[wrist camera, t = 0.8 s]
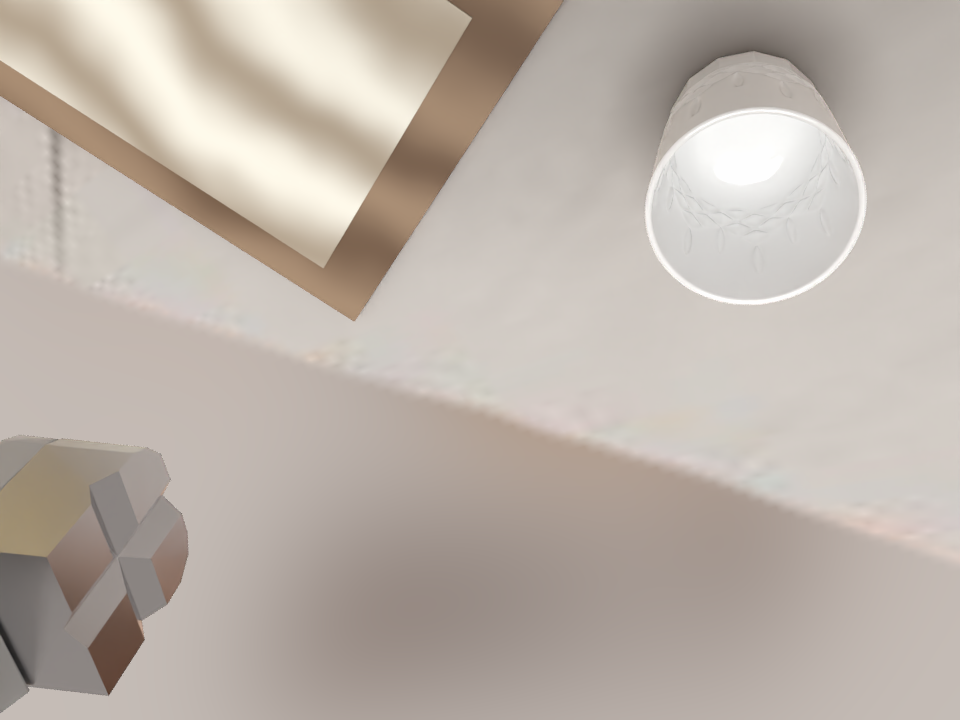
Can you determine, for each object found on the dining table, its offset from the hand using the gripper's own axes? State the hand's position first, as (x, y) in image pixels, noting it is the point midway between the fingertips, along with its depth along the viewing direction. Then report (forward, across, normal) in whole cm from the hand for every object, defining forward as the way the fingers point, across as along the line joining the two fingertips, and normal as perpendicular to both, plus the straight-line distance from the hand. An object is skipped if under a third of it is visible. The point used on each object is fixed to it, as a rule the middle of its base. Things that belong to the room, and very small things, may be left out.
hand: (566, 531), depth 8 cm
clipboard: (+36, +22, +2) cm, 42 cm away
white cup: (+36, -4, +8) cm, 37 cm away
